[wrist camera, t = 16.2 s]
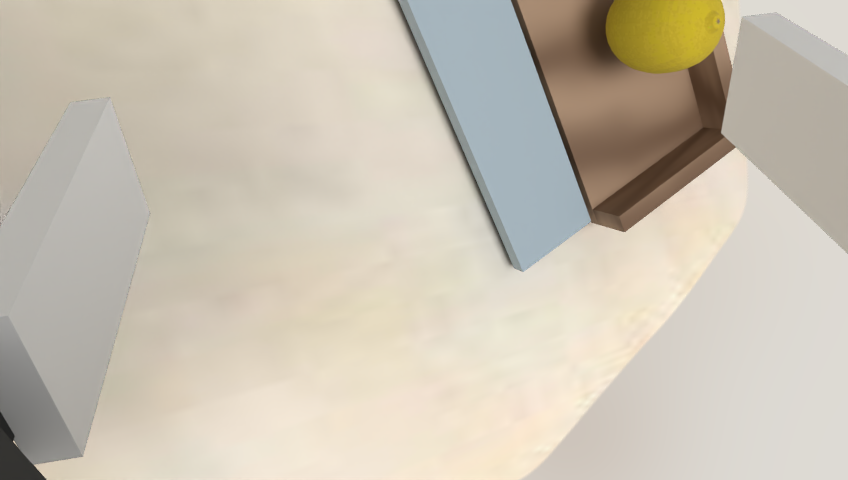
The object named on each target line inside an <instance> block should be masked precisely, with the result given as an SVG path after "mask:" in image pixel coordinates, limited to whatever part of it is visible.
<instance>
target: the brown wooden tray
mask: <svg viewBox="0 0 848 480" xmlns="http://www.w3.org/2000/svg"><path fill="white" fill-rule="evenodd" d="M511 2H512V5H513V8H514V10H515V13H516V16H517V19H518V21H519V24H520V27H521V30H522V32H523V35H524V38H525V41H526V43H527V46H528V49H529V52H530V54H531V57H532V60H533V62H534V65H535V68H536V71H537V73H538V76H539V79H540V82H541V84H542V87H543V90H544V93H545V95H546V98H547V101H548V104H549V106H550V109H551V112H552V115H553V117H554V120H555V123H556V126H557V128H558V131H559V134H560V137H561V139H562V142H563V145H564V148H565V150H566V153H567V156H568V159H569V161H570V164H571V167H572V170H573V172H574V175H575V178H576V181H577V183H578V186H579V189H580V192H581V194H582V197H583V200H584V203H585V205H586V208H587V211H588V214H589V216H590V219H591V222H592V223H595V224H599V225H602V226H605V227H609V228H612V229H616V230H619V231H622V232H626V231H627V230H628V229H629V228H631V227H632V226H633V225H635V224H636V223H637V222H639V221H640V220H641V219H643V218H644V217H645V216H647V215H648V214H649V213H650V212H652V211H653V210H654V209H656V208H657V207H658V206H660V205H661V204H662V203H664V202H665V201H666V200H667V199H669V198H670V197H671V196H673V195H674V194H675V193H677V192H678V191H679V190H681V189H682V188H683V187H684V186H686V185H687V184H688V183H690V182H691V181H692V180H694V179H695V178H696V177H698V176H699V175H700V174H701V173H703V172H704V171H705V170H707V169H708V168H709V167H711V166H712V165H713V164H715V163H716V162H717V161H719V160H720V159H721V158H722V157H724V156H725V155H726V154H728V153H729V152H730V151H732V150H733V149H734V148H736V147H735V146H734V145H733V144H732V143H731V142H730V141H729V140H728V139H727V138H726V137H725V136H724V135H723V134H721V130H722V124H723V119H724V113H725V108H726V102H727V97H728V91H729V86H730V80H731V74H732V65H731V61H730V57H729V53H728V49H727V45H726V40H725V36H724V32H723V33H722V36H721V38H720V40H719V43H718V44H717V46H716V47H715V49H714V50H713V51H712V53H711V54H710V55H708V56H707V57H706V58H705V59H704V60H703V61H701V62H700V63H698V64H696V65H694V66H692V67H689V68H687V69H684V70H681V71H677V72H671V73H662V74H652V73H646V72H642V71H638V70H635V69H632V68H630V67H629V66H627V65H626V64H624V63H623V62H621V61H620V60H619V59H618V58H617V57H616V56H615V54H614V53H613V52H612V50H611V48H610V46H609V44H608V41H607V37H606V19H607V15H608V12H609V9H610V7H611V5H612V3H613V2H614V0H511Z"/></svg>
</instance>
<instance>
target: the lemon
mask: <svg viewBox="0 0 848 480" xmlns="http://www.w3.org/2000/svg"><path fill="white" fill-rule="evenodd" d="M724 24H725V13H724V9H723V5H722V2H721V0H614V2H613V3H612V5H611V7H610V9H609V12H608V15H607V19H606V37H607V41H608V44H609V46H610V48H611V50H612V52H613V53H614V54H615V56H616V57H617V58H618V59H619V60H620V61H621V62H623V63H624V64H626V65H627V66H629V67H630V68H632V69H635V70H638V71H642V72H646V73H652V74H662V73H671V72H677V71H681V70H684V69H687V68H689V67H692V66H694V65H696V64H698V63H700V62H701V61H703V60H704V59H705V58H706V57H707V56H708V55H710V54H711V53H712V51H713V50H714V49H715V47H716V46H717V44H718V43H719V40H720V38H721V36H722V33H723V30H724Z"/></svg>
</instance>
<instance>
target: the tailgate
mask: <svg viewBox="0 0 848 480" xmlns="http://www.w3.org/2000/svg"><path fill="white" fill-rule="evenodd" d="M398 1H399V3H400V5H401V8H402V10H403V12H404V15H405V17H406V19H407V22H408V24H409V26H410V29H411V31H412V33H413V35H414V38H415V40H416V42H417V45H418V47H419V49H420V52H421V54H422V56H423V59H424V61H425V63H426V66H427V68H428V70H429V72H430V75H431V77H432V79H433V82H434V84H435V86H436V89H437V91H438V93H439V96H440V98H441V100H442V103H443V105H444V107H445V109H446V112H447V114H448V116H449V119H450V121H451V123H452V126H453V128H454V130H455V133H456V135H457V137H458V140H459V142H460V144H461V146H462V149H463V151H464V153H465V156H466V158H467V160H468V163H469V165H470V167H471V170H472V172H473V174H474V177H475V179H476V181H477V183H478V186H479V188H480V190H481V193H482V195H483V197H484V200H485V202H486V204H487V207H488V209H489V211H490V214H491V216H492V218H493V220H494V223H495V225H496V227H497V230H498V232H499V234H500V237H501V239H502V241H503V244H504V246H505V248H506V251H507V253H508V255H509V258H510V260H511V262H512V264H513V267H514V268H515V269H517V270H520V271H522V272H524V271H525V270H527V269H528V268H529V267H531V266H532V265H533V264H535V263H536V262H537V261H539V260H540V259H541V258H543V257H544V256H545V255H547V254H548V253H549V252H551V251H552V250H553V249H555V248H556V247H557V246H559V245H560V244H562V243H563V242H564V241H566V240H567V239H568V238H570V237H571V236H572V235H574V234H575V233H576V232H578V231H579V230H580V229H582V228H583V227H584V226H586V225H587V224H588V223H590V222H591V219H590V216H589V214H588V211H587V208H586V205H585V203H584V200H583V197H582V194H581V192H580V189H579V186H578V183H577V181H576V178H575V175H574V172H573V170H572V167H571V164H570V161H569V159H568V156H567V153H566V150H565V148H564V145H563V142H562V139H561V137H560V134H559V131H558V128H557V126H556V123H555V120H554V117H553V115H552V112H551V109H550V106H549V104H548V101H547V98H546V95H545V93H544V90H543V87H542V84H541V82H540V79H539V76H538V73H537V71H536V68H535V65H534V62H533V60H532V57H531V54H530V52H529V49H528V46H527V43H526V41H525V38H524V35H523V32H522V30H521V27H520V24H519V21H518V19H517V16H516V13H515V10H514V8H513V5H512V2H511V0H398Z"/></svg>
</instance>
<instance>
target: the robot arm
mask: <svg viewBox="0 0 848 480" xmlns="http://www.w3.org/2000/svg"><path fill="white" fill-rule="evenodd" d="M721 134H723V135H724V136H725V137H726V138H727V139H728V140H729V141H730V142H731V143H732V144H733V145H734V146H735V147H736V148H737V149H738V150H739V151H740V152H741V153H742V154H744V155H745V156H746V157H747V158H748V159H749V160H750V161H751V162H752V163H753V164H754V165H755V166H756V167H757V168H758V169H759V170H760V171H761V172H762V173H763V174H765V175H766V176H767V177H768V178H769V179H770V180H771V181H772V182H773V183H774V184H775V185H776V186H777V187H778V188H779V189H780V190H781V191H783V192H784V194H785V195H787V196H788V197H789V198H790V199H791V200H792V201H793V202H794V203H795V204H796V205H797V206H798V207H799V208H800V209H801V210H802V211H803V212H805V214H806V215H808V216H809V217H810V218H811V219H812V220H813V221H814V222H815V223H816V224H817V225H818V226H819V227H820V228H821V229H822V230H823V231H824V232H825V233H826V234H827V235H829V236H830V237H831V238H832V239H833V240H834V241H835V242H836V243H837V244H838V245H839V246H840V247H841V248H842V249H843V250H844V251H845V252H846V253H847V254H848V55H847V54H845V53H843V52H842V51H840V50H838V49H837V48H835V47H833V46H831V45H830V44H828V43H827V42H825V41H823V40H821V39H820V38H818V37H817V36H815V35H813V34H811V33H810V32H808V31H806V30H805V29H803V28H801V27H800V26H798V25H796V24H795V23H793V22H791V21H790V20H788V19H786V18H785V17H783V16H781V15H780V14H778V13H776V12H775V13H767V14H759V15H751V16H743V17H742V19H741V25H740V30H739V36H738V41H737V47H736V52H735V58H734V63H733V69H732V74H731V80H730V86H729V91H728V97H727V102H726V108H725V113H724V119H723V124H722V130H721ZM149 216H150V211H149V208H148V205H147V202H146V199H145V197H144V194H143V191H142V188H141V185H140V182H139V179H138V176H137V173H136V170H135V168H134V165H133V162H132V159H131V156H130V153H129V150H128V147H127V144H126V142H125V139H124V136H123V133H122V130H121V127H120V124H119V121H118V118H117V115H116V113H115V110H114V107H113V104H112V101H111V98H110V97H107V98H100V99H92V100H84V101H76V102H70V104H69V106H68V108H67V109H66V111H65V113H64V115H63V116H62V118H61V120H60V122H59V123H58V125H57V127H56V129H55V131H54V132H53V134H52V136H51V138H50V139H49V141H48V143H47V145H46V146H45V148H44V150H43V152H42V154H41V155H40V157H39V159H38V161H37V162H36V164H35V166H34V168H33V169H32V171H31V173H30V175H29V177H28V178H27V180H26V182H25V184H24V185H23V187H22V189H21V191H20V192H19V194H18V196H17V198H16V200H15V201H14V203H13V205H12V207H11V208H10V210H9V212H8V214H7V216H6V217H5V219H4V221H3V223H2V224H1V226H0V480H46V479H45V478H44V476H43V475H42V474H41V473H40V472H39V471H38V470H37V469H36V467H35V466H34V464H40V463H46V462H52V461H58V460H64V459H71V458H77V457H83V454H84V450H85V447H86V443H87V440H88V436H89V432H90V429H91V425H92V422H93V418H94V414H95V411H96V407H97V404H98V400H99V396H100V393H101V389H102V385H103V382H104V378H105V375H106V371H107V367H108V364H109V360H110V357H111V353H112V349H113V346H114V342H115V338H116V335H117V331H118V328H119V324H120V320H121V317H122V313H123V310H124V306H125V302H126V299H127V295H128V291H129V288H130V284H131V281H132V277H133V273H134V270H135V266H136V263H137V259H138V255H139V252H140V248H141V244H142V241H143V237H144V234H145V230H146V226H147V223H148V219H149ZM13 440H14V441H15V443H16V444H17V446H18V447H17V446H16V445H15V444H14V443H13Z"/></svg>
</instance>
